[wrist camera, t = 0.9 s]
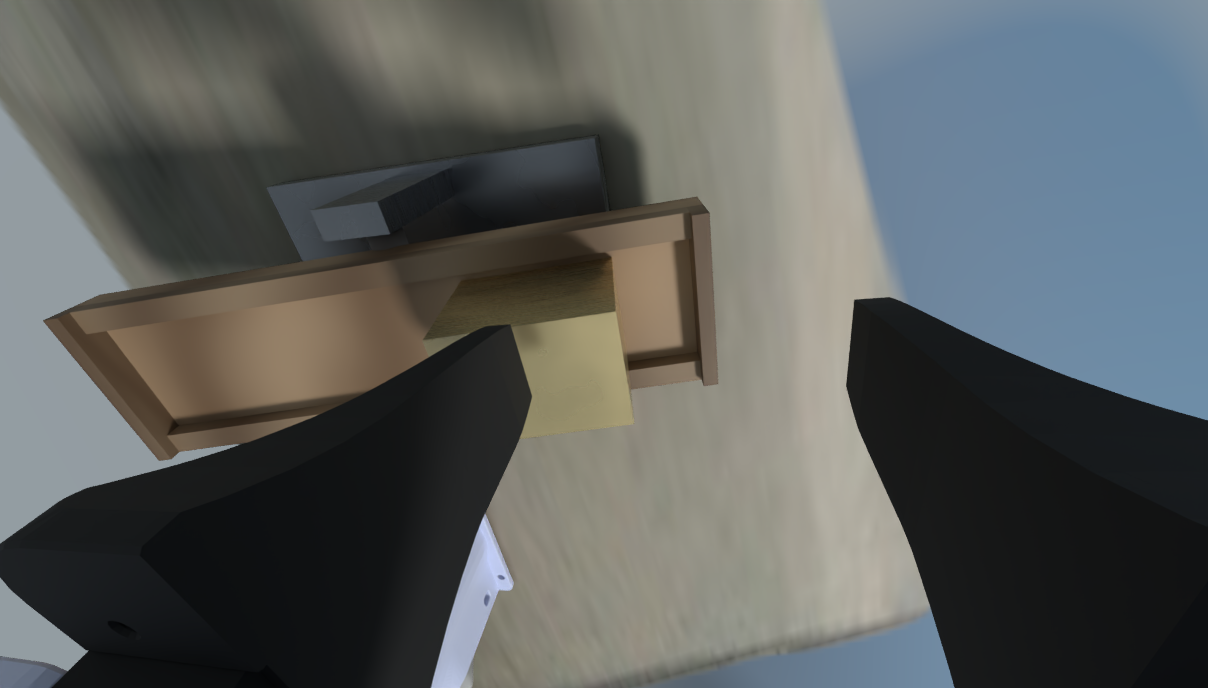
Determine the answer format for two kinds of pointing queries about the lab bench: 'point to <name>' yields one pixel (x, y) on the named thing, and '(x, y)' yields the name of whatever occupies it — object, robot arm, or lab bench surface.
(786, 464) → the lab bench surface
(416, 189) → the pivot stand
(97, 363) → the beam
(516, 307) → the block
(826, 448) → the lab bench surface
